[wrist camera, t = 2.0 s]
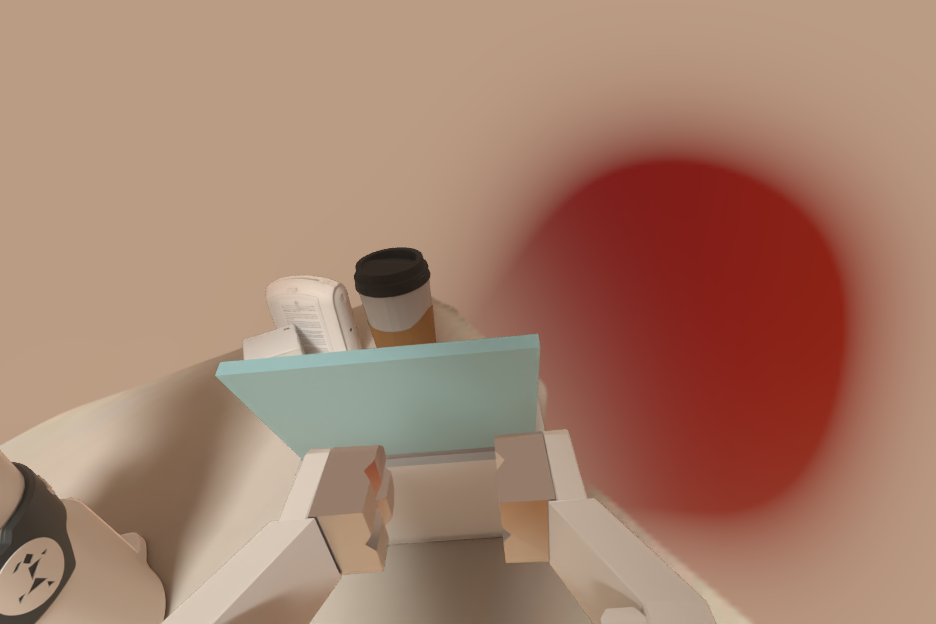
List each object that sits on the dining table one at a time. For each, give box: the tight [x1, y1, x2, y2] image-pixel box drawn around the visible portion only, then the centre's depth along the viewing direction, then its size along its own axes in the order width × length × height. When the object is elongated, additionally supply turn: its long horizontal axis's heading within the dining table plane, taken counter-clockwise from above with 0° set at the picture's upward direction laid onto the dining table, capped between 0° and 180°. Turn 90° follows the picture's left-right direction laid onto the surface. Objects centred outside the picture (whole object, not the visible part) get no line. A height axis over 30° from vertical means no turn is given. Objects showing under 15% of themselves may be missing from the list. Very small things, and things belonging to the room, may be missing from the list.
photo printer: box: [266, 275, 362, 355], centre depth 56 cm, size 10×4×12 cm, turn 77°
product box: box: [243, 324, 305, 360], centre depth 52 cm, size 6×6×7 cm
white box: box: [295, 396, 545, 544], centre depth 38 cm, size 18×12×9 cm
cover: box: [215, 334, 540, 461], centre depth 26 cm, size 16×12×1 cm
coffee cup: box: [354, 248, 436, 348], centre depth 51 cm, size 8×8×15 cm
